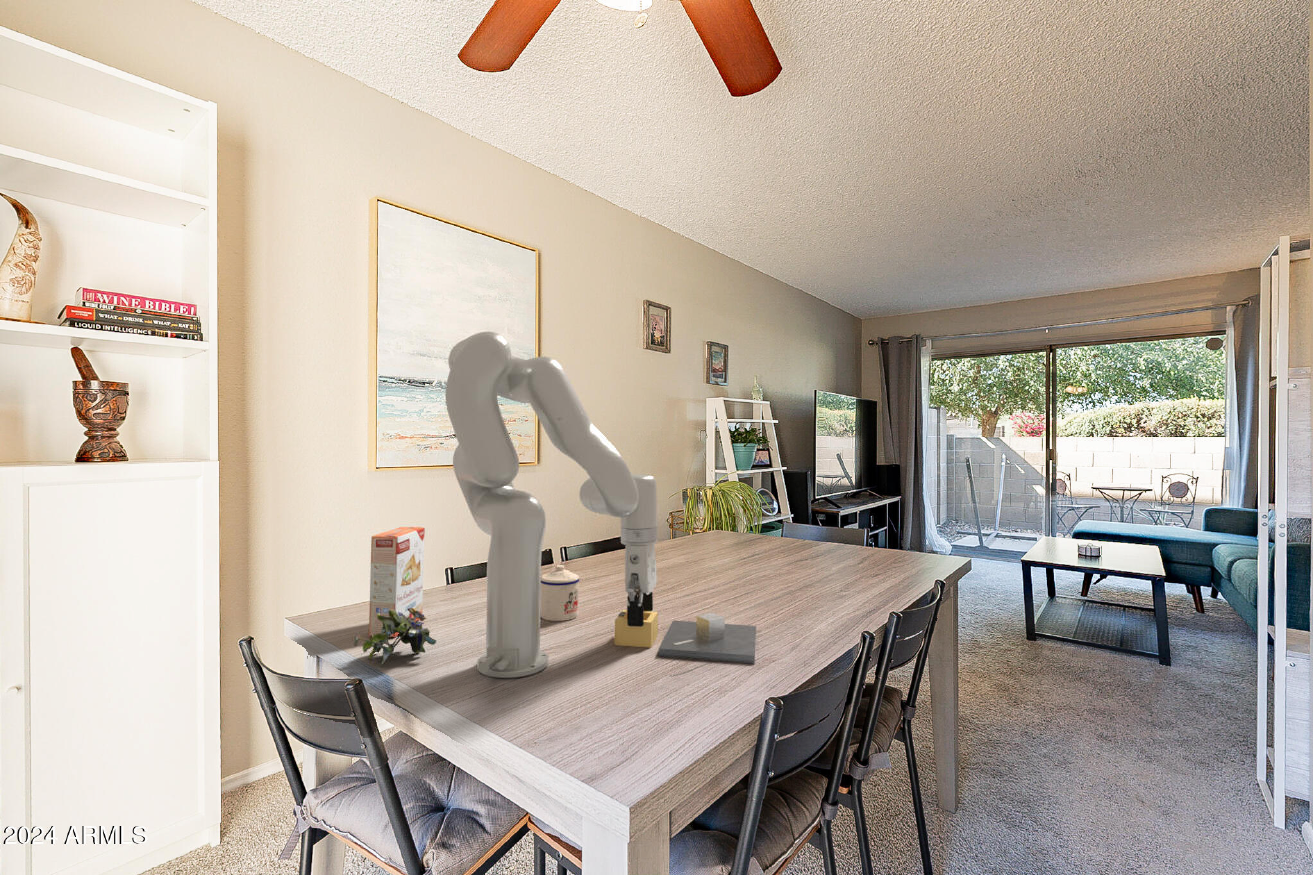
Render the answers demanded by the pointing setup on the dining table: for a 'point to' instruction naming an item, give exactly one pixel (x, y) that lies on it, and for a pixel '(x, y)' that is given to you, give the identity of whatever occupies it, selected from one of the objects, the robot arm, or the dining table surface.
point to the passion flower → (407, 632)
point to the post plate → (710, 640)
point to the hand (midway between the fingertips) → (640, 617)
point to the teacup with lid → (559, 595)
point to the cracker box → (396, 574)
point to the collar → (636, 630)
